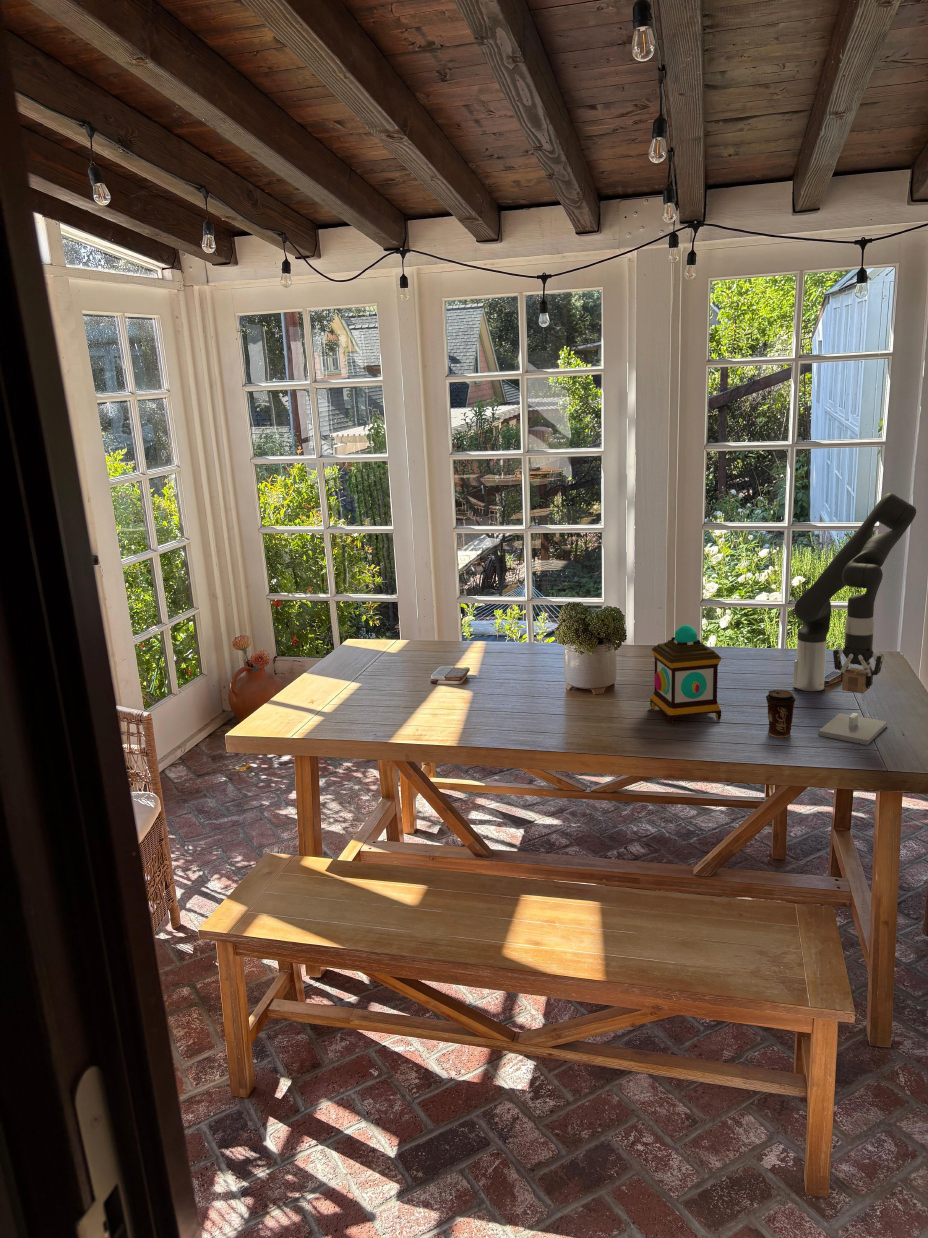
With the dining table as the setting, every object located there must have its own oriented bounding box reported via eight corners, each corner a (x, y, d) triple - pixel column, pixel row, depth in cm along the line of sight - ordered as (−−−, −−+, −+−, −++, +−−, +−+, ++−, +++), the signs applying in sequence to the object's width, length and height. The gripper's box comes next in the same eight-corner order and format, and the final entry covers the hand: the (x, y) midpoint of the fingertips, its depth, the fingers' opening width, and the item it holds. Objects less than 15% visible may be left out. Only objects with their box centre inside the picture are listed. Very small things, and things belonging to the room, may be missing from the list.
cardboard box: (849, 684, 274) (850, 667, 272) (870, 687, 270) (871, 670, 268) (841, 690, 269) (842, 672, 267) (863, 693, 265) (864, 675, 264)
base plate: (818, 735, 270) (818, 730, 270) (839, 717, 284) (839, 713, 283) (867, 745, 261) (867, 740, 261) (886, 726, 275) (886, 721, 274)
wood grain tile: (848, 727, 271) (849, 716, 270) (852, 723, 274) (853, 712, 273) (853, 728, 270) (853, 717, 269) (857, 724, 273) (858, 713, 272)
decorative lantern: (666, 728, 282) (667, 635, 275) (644, 707, 301) (644, 619, 294) (727, 721, 285) (729, 629, 278) (701, 701, 304) (703, 614, 297)
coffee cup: (760, 729, 277) (762, 688, 274) (788, 728, 277) (790, 687, 274) (769, 739, 269) (770, 698, 266) (797, 738, 269) (799, 697, 266)
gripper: (889, 631, 263) (885, 686, 267) (838, 625, 272) (835, 678, 276) (881, 637, 258) (877, 693, 262) (829, 630, 267) (827, 685, 271)
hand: (856, 685), depth 269 cm, fingers closed on cardboard box, 6 cm apart
